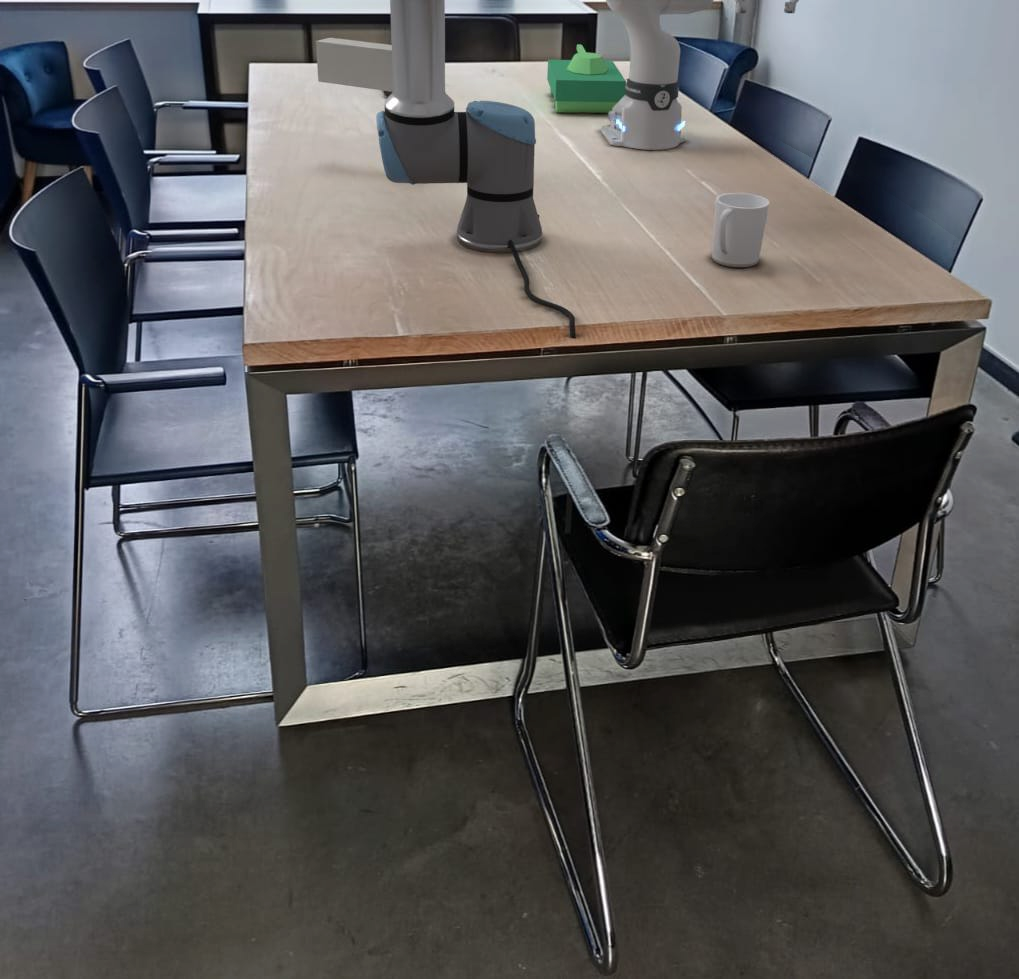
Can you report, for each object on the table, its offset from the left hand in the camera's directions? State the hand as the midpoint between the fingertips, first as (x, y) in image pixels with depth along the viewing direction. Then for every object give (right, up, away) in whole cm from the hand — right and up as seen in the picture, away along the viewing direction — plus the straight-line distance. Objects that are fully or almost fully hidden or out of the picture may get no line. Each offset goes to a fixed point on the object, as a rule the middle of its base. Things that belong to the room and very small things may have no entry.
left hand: (416, 88), depth 222 cm
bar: (-9, +2, +4) cm, 10 cm away
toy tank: (+38, +23, +73) cm, 85 cm away
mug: (+57, -42, -33) cm, 78 cm away
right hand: (+66, +7, -19) cm, 69 cm away
